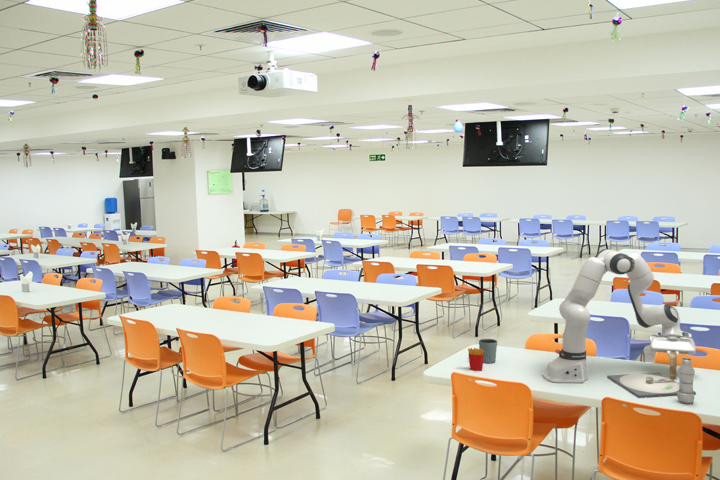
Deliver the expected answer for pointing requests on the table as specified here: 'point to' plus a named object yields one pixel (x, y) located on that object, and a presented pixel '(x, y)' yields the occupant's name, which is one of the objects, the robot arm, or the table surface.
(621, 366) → the table surface
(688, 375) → the plastic bottle
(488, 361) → the grey bucket
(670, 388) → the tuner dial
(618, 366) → the table surface
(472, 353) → the french fries
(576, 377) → the robot arm
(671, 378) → the needle lever
